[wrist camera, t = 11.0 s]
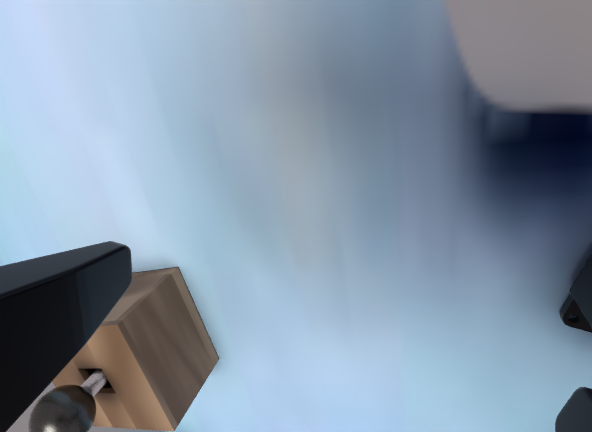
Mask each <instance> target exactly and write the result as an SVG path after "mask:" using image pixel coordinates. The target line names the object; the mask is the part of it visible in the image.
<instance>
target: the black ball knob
mask: <svg viewBox="0 0 592 432" xmlns="http://www.w3.org/2000/svg"><path fill="white" fill-rule="evenodd" d="M107 381H108V379H107V377H106V375H105V374H104V372H103V370H102V368H97V370H96V371H95V372H94V373H93V374H92V375H91V376H90V377H89V378H88V379H87V380H86V381H85V382H84V383H83V384H82V385H81V386H78V385H63V386H59V387H56V388H54V389H52V390H50V391H49V392H47V393H46V394H45V395H44V396H42V397H41V398H40V399H39V400H38V402H37V403H36V404H35V406H34V408H33V409H32V412H31V414H30V418H29V432H88V431H89V430H90V428H91V426H92V425H93V423H94V420H95V416H96V403H95V400H94V396H95V395H96V393H97V392H98V391H99V390H100V389H101V388H102V387H103V386H104V385H105V384H106V382H107Z"/></svg>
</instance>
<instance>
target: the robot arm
mask: <svg viewBox="0 0 592 432" xmlns="http://www.w3.org/2000/svg"><path fill="white" fill-rule="evenodd" d="M131 281H132V264H131V251H130V249H129V247H128V246H126V245H123V244H120V243H117V242H113V241H109V242H104V243H100V244H95V245H91V246H87V247H82V248H78V249H73V250H69V251H65V252H60V253H56V254H52V255H47V256H43V257H39V258H34V259H30V260H25V261H21V262H17V263H12V264H8V265H4V266H0V432H6V431H7V430H8V429H9V428H10V427H11V426H12V425H13V423H14V422H15V421H16V420H17V419H18V418H19V417H20V416H21V415H22V414H23V413H24V411H25V410H26V409H27V408H28V407H29V406H30V405H31V404H32V403H33V401H34V400H35V399H36V398H37V397H38V396H39V395H40V394H41V393H42V392H43V391H44V389H45V388H46V387H47V386H48V385H49V384H50V383H51V382H52V381H53V380H54V379H55V377H56V376H57V375H58V374H59V373H60V372H61V371H62V370H63V369H64V368H65V367H66V365H67V364H68V363H69V362H70V361H71V360H72V359H73V358H74V357H75V356H76V354H77V353H78V352H79V351H80V350H81V349H82V348H83V346H84V345H85V344H86V343H87V342H88V340H89V339H90V338H91V337H92V335H93V334H94V333H95V332H96V330H97V329H98V328H99V326H100V325H101V324H102V322H103V321H104V320H105V318H106V317H107V316H108V314H109V313H110V312H111V310H112V309H113V308H114V306H115V305H116V304H117V302H118V301H119V300H120V298H121V297H122V296H123V294H124V293H125V292H126V290H127V289H128V287H129V286H130V284H131ZM570 293H571V295H570V296H569V298H568V300H567V301H566V303H565V305H564V306H563V308H562V309H561V311H560V317H561V319H562V321H563V322H564V323H565V324H566V325H568V326H570V327H574V328H577V329H581V330H584V331H588V332H591V333H592V254H591V256H590V257H589V259H588V261H587V262H586V264H585V266H584V267H583V269H582V271H581V272H580V274H579V276H578V277H577V279H576V281H575V282H574V284H573V285H572V287H571V289H570ZM570 315H577V316H576V317H573V318H569V316H570ZM555 432H592V389H590V388H586V387H580V388H578V389H577V390H576V391H575V392H574V393H573V395H572V396H571V397H570V399H569V400H568V402H567V403H566V404H565V406H564V407H563V409H562V410H561V411H560V413H559V414H558V416H557V419H556V423H555Z"/></svg>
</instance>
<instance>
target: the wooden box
mask: <svg viewBox="0 0 592 432" xmlns="http://www.w3.org/2000/svg"><path fill="white" fill-rule="evenodd" d="M218 360H219V358H218V356H217V353H216V351H215V349H214V347H213V344H212V342H211V340H210V338H209V335H208V333H207V331H206V329H205V326H204V324H203V322H202V320H201V317H200V315H199V313H198V311H197V308H196V306H195V304H194V302H193V299H192V297H191V295H190V293H189V290H188V288H187V286H186V284H185V281H184V279H183V277H182V275H181V272H180V270H179V268H178V267H175V268H167V269H160V270H152V271H145V272H137V273H132V281H131V284H130V286H129V287H128V289H127V290H126V292H125V293H124V294H123V296H122V297H121V298H120V300H119V301H118V302H117V304H116V305H115V306H114V308H113V309H112V310H111V312H110V313H109V314H108V316H107V317H106V318H105V320H104V321H103V322H102V324H101V325H100V326H99V328H98V329H97V330H96V332H95V333H94V334H93V335H92V337H91V338H90V339H89V340H88V342H87V343H86V344H85V345H84V346H83V348H82V349H81V350H80V351H79V352H78V353H77V354H76V356H75V357H74V358H73V359H72V360H71V361H70V362H69V363H68V364H67V365H66V367H65V368H64V369H63V370H62V371H61V372H60V373H59V374H58V375H57V376H56V377H55V379H54V380H53V381H52V382H53V384H54V385H55V386H56V387H59V386H63V385H78V386H81V385H82V384H83V383H84V382H85V381H86V380H87V379H88V378H89V377H90V376H91V375H92V374H93V373H94V372H95V371H96V370H97V368H102V370H103V372H104V374H105V375H106V377H107V379H108V381H107V382H106V384H105V385H104V386H103V387H102V388H101V389H100V390H99V391H98V392H97V393H96V395H95V396H94V400H95V403H96V416H95V420H94V423H93V425H92V426H98V427H99V426H100V427H115V428H132V429H147V430H163V431H175V429H176V428H177V426H178V425H179V423H180V421H181V420H182V418H183V417H184V415H185V413H186V412H187V410H188V408H189V407H190V405H191V404H192V402H193V400H194V399H195V397H196V396H197V394H198V392H199V391H200V389H201V387H202V386H203V384H204V383H205V381H206V379H207V378H208V376H209V375H210V373H211V371H212V370H213V368H214V366H215V365H216V363H217V362H218Z"/></svg>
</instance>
